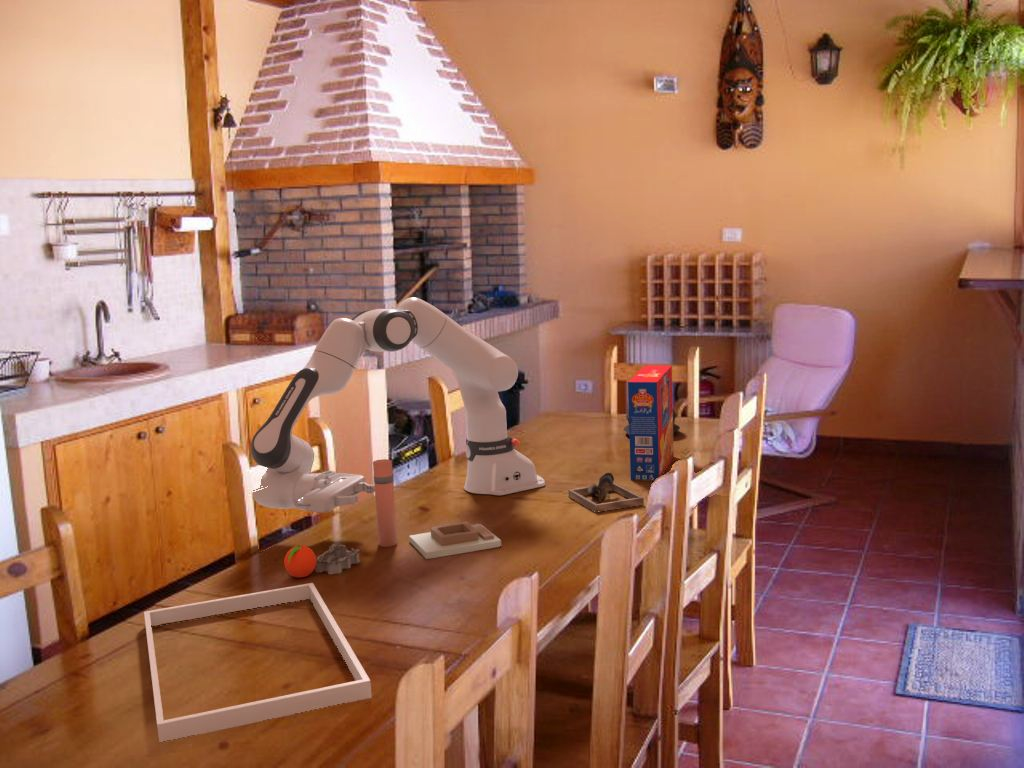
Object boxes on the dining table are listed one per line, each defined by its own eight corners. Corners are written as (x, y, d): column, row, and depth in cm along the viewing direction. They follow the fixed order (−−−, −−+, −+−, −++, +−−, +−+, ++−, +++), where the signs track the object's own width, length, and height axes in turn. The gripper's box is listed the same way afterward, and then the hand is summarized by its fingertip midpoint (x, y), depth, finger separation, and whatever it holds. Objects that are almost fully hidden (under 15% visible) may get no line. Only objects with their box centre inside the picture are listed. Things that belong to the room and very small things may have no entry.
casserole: (631, 425, 366) (630, 401, 364) (685, 426, 360) (684, 402, 359) (616, 442, 342) (615, 416, 341) (674, 443, 337) (673, 417, 335)
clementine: (304, 585, 225) (301, 553, 224) (276, 582, 227) (273, 551, 226) (323, 572, 232) (321, 541, 231) (296, 570, 235) (293, 539, 234)
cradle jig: (481, 530, 257) (480, 516, 256) (501, 546, 244) (500, 531, 243) (409, 541, 251) (408, 527, 250) (426, 559, 238) (425, 544, 237)
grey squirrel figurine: (621, 498, 274) (620, 483, 282) (605, 478, 272) (605, 463, 281) (597, 513, 276) (597, 497, 285) (581, 493, 274) (581, 477, 283)
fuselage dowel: (394, 539, 253) (389, 458, 249) (399, 545, 249) (394, 462, 245) (376, 542, 251) (370, 460, 248) (381, 548, 247) (375, 465, 244)
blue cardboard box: (659, 481, 293) (656, 382, 288) (630, 480, 295) (627, 381, 291) (673, 456, 319) (671, 365, 315) (647, 456, 322) (645, 365, 317)
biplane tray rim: (313, 596, 218) (312, 582, 218) (371, 697, 172) (370, 680, 172) (145, 626, 207) (143, 611, 206) (159, 743, 161) (157, 724, 160)
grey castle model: (339, 557, 243) (338, 540, 242) (365, 561, 239) (364, 544, 238) (308, 572, 234) (307, 554, 233) (335, 577, 230) (333, 559, 229)
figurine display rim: (614, 489, 286) (614, 482, 286) (643, 505, 271) (643, 497, 271) (568, 497, 282) (568, 489, 281) (595, 513, 266) (595, 505, 266)
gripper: (290, 491, 244) (343, 494, 239) (333, 468, 263) (383, 470, 258) (292, 517, 245) (346, 520, 241) (335, 493, 264) (385, 495, 260)
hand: (365, 494), depth 250 cm, fingers open, 8 cm apart
